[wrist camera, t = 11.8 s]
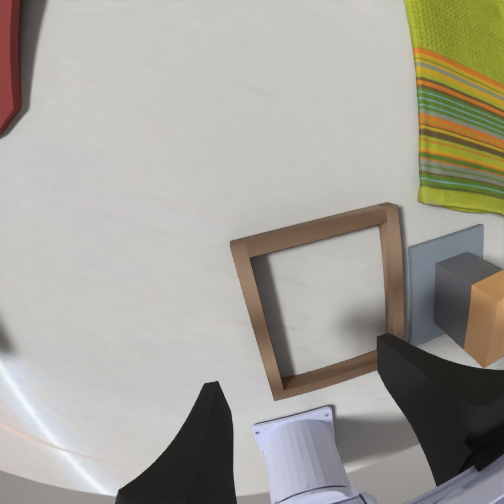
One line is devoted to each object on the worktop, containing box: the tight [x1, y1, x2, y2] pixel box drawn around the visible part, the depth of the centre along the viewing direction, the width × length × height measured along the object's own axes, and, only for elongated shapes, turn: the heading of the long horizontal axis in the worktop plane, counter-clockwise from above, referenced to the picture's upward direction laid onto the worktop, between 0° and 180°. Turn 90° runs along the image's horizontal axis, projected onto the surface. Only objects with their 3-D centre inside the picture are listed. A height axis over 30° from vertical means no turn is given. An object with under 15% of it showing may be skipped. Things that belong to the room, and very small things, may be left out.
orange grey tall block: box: [433, 252, 504, 368], centre depth 20 cm, size 6×4×8 cm, turn 13°
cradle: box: [230, 202, 404, 401], centre depth 22 cm, size 14×12×2 cm
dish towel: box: [405, 0, 504, 215], centre depth 16 cm, size 15×36×3 cm, turn 1°
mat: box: [408, 224, 484, 346], centre depth 24 cm, size 10×9×1 cm
